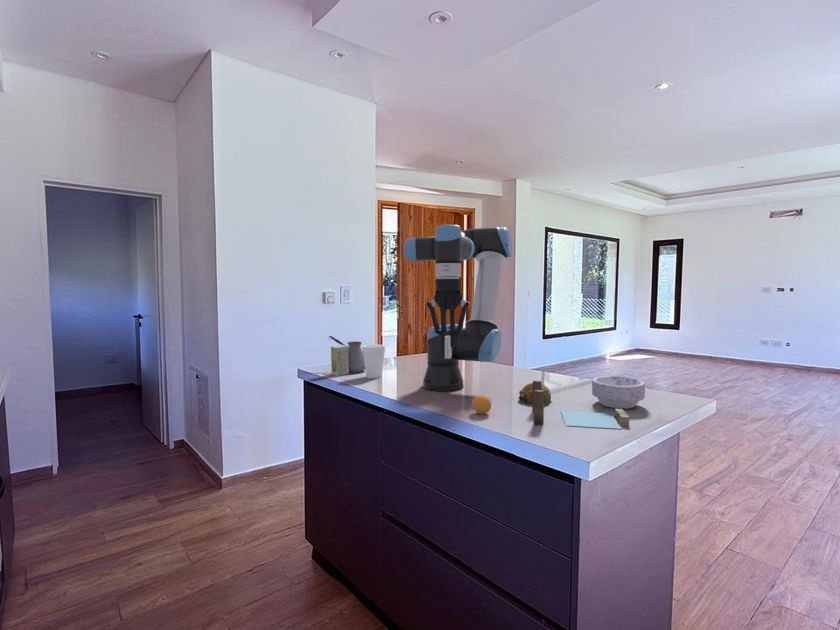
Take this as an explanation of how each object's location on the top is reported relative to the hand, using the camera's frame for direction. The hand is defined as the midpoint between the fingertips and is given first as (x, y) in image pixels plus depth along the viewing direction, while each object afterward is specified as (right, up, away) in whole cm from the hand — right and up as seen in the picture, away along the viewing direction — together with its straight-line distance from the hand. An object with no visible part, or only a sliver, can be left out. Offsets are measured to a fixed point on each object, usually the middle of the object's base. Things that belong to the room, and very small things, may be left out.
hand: (448, 357), depth 133 cm
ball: (+10, -14, -1) cm, 17 cm away
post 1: (+27, -16, +2) cm, 31 cm away
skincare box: (-43, -13, +58) cm, 73 cm away
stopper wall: (+47, -17, -9) cm, 51 cm away
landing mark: (+39, -17, -8) cm, 43 cm away
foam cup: (-27, -13, +52) cm, 60 cm away
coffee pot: (-41, -12, +68) cm, 80 cm away
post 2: (+24, -17, -11) cm, 31 cm away
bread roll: (+29, -16, +13) cm, 36 cm away
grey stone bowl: (+54, -16, +8) cm, 57 cm away
